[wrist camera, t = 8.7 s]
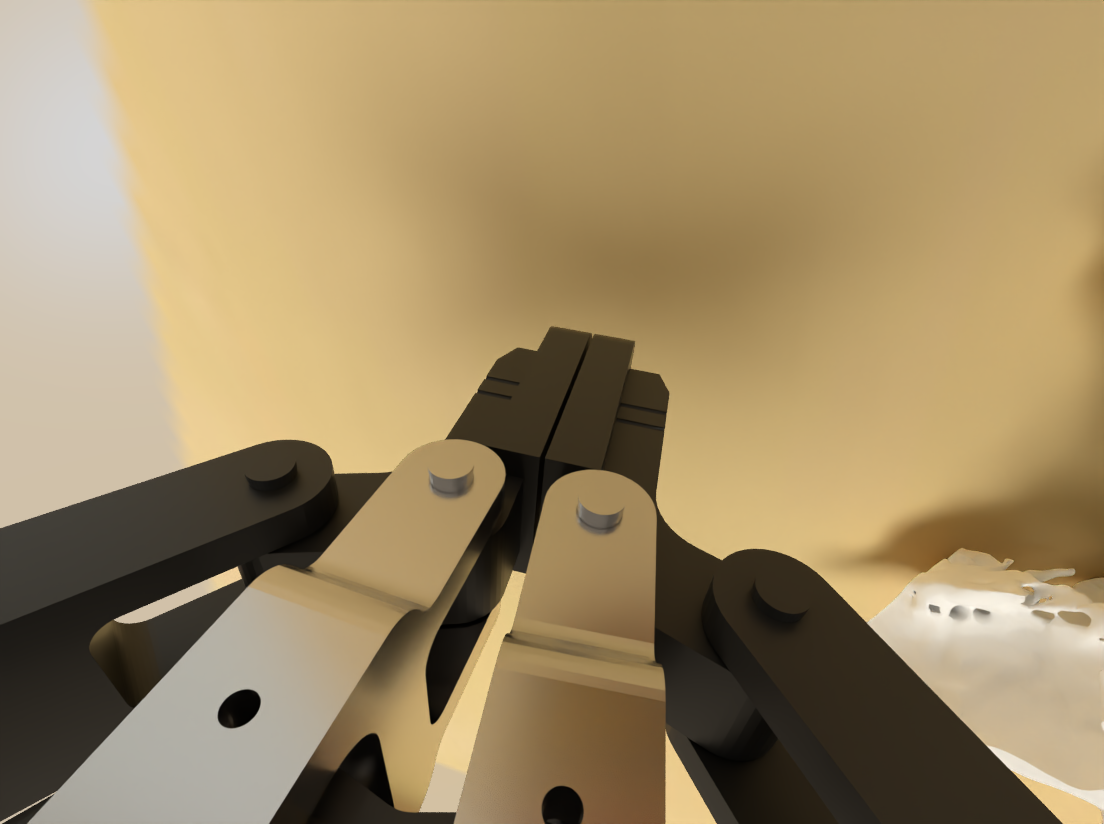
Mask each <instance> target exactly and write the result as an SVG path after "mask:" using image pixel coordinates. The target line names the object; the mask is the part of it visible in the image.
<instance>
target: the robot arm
mask: <svg viewBox="0 0 1104 824" xmlns="http://www.w3.org/2000/svg"><path fill="white" fill-rule="evenodd" d="M634 347H635V341H631V340H625V339H620V338H614V337H609V336H603V335H598V334H594V336H593V338H592V333H586V332H581V331H575V330H570V329H564V328H559V327H554V326H551V327H550V329H549V331H548V332H547V334H546V336H545V338H544V340H543V342H542V343H541V345H540V347H539V349H538V351H533V350H528V349H523V348H516V349H514V350H513V351H511V352H509V353H508V354H506V355H504V356H502V357H501V358H499V359H497V361H496V362H495V364H494V365H493V367H492V368H491V370H490V372H489V373H488V375H487V377H486V379H484V381H483V382H482V384H481V385H480V387H479V388H478V392H477V393H475V395H474V396H473V398H472V399H471V401H470V402H469V404H468V405H467V407H466V408H465V410H464V412H463V413H462V415H461V416H460V418H459V419H458V421H457V422H456V424H455V425H454V427H453V428H452V430H451V432H450V433H449V435H448V436H447V438H446V439H445V440H440V441H435V442H431V443H428V444H425V445H423V446H421V447H419V448H417V449H415V450H413V451H412V452H411V453H409V454H408V455H407V456H406V457H405V458H404V459H403V460H402V461H401V462H400V464H399V465H398V466H397V467H396V468H395V469H394V471H393V472H386V473H352V474H334V470H333V465H332V460H331V458H330V456H329V455H328V454H327V453H326V451H325V450H323V449H322V448H320V447H319V446H317V445H315V444H312V443H309V442H305V441H299V440H277V441H271V442H266V443H262V444H258V445H255V446H252V447H249V448H246V449H243V450H240V451H237V452H233V453H230V454H227V455H224V456H221V457H218V458H215V459H212V460H209V461H206V462H203V463H200V464H197V465H194V466H191V467H187V468H184V469H181V470H178V471H175V472H172V473H169V474H166V475H163V476H160V477H157V478H154V479H151V480H148V481H145V482H141V483H139V484H135V485H132V486H129V487H126V488H123V489H120V490H117V491H114V492H111V493H108V494H105V495H102V496H99V497H95V498H93V499H89V500H86V501H83V502H81V503H77V504H74V505H71V506H68V507H65V508H62V509H59V510H56V511H53V512H49V513H46V514H43V515H40V516H37V517H34V518H31V519H28V520H25V521H22V522H19V523H16V524H13V525H10V526H6V527H4V528H0V821H2V820H4V819H6V818H8V817H10V816H11V815H13V814H15V813H17V812H19V811H21V810H23V809H24V808H26V807H28V806H30V805H32V804H34V803H35V802H37V801H39V800H41V799H43V798H45V797H47V796H49V795H50V794H52V793H54V792H56V791H57V792H56V793H55V794H53V795H52V796H50V797H48V798H47V799H45V800H43V801H41V802H39V803H38V804H36V805H34V806H32V807H31V808H29V809H27V810H25V811H24V812H22V813H20V814H18V815H16V816H15V817H13V818H11V819H9V820H8V821H6V822H4V823H2V824H665V729H666V732H667V735H668V738H669V740H670V742H671V744H672V746H673V748H674V749H675V751H676V753H677V755H678V756H679V758H680V760H681V762H682V763H683V765H684V767H685V769H686V770H687V772H688V774H689V776H690V777H691V779H692V781H693V783H694V784H695V786H696V788H697V790H698V791H699V793H700V795H701V797H702V798H703V800H704V802H705V804H706V805H707V807H708V809H709V811H710V812H711V814H712V816H713V818H714V819H715V821H716V823H717V824H1062V822H1061V821H1060V820H1059V819H1058V818H1057V817H1056V816H1055V815H1054V814H1053V813H1052V812H1051V811H1050V810H1049V809H1048V808H1047V807H1046V806H1045V805H1044V804H1043V803H1042V802H1041V801H1040V800H1039V799H1038V798H1037V797H1036V796H1035V795H1034V794H1033V793H1032V792H1031V791H1030V790H1029V789H1028V788H1027V787H1026V786H1025V785H1024V784H1023V783H1022V782H1021V780H1020V779H1019V778H1018V777H1017V776H1016V775H1015V774H1014V773H1013V772H1012V771H1011V770H1010V769H1009V768H1008V767H1007V766H1006V765H1005V764H1004V763H1003V762H1002V761H1001V760H1000V759H999V758H998V757H997V756H996V755H995V754H994V753H993V752H992V751H991V750H990V749H989V748H988V747H987V746H986V745H985V744H984V743H983V742H982V741H981V740H980V738H979V737H978V736H977V735H976V734H975V733H974V732H973V731H972V730H971V729H970V728H969V727H968V726H967V725H966V724H965V723H964V722H963V721H962V720H961V719H960V718H959V717H958V716H957V715H956V714H955V713H954V712H953V711H952V710H951V709H950V708H949V707H948V706H947V705H946V704H945V703H944V702H943V701H942V700H941V699H940V698H939V696H938V695H937V694H936V693H935V692H934V691H933V690H932V689H931V688H930V687H929V686H928V685H927V684H926V683H925V682H924V681H923V680H922V679H921V678H920V677H919V676H918V675H917V674H916V673H915V672H914V671H913V670H912V669H911V668H910V667H909V666H908V665H907V664H906V663H905V662H904V661H903V660H902V659H901V658H900V657H899V656H898V654H897V653H896V652H895V651H894V650H893V649H892V648H891V647H890V646H889V645H888V644H887V643H886V642H885V641H884V640H883V639H882V638H881V637H880V636H879V635H878V634H877V633H876V632H875V631H874V630H873V629H872V628H871V627H870V626H869V625H868V624H867V623H866V622H865V621H864V620H863V619H862V618H861V617H860V616H859V615H858V614H857V612H856V611H855V610H854V609H853V608H852V607H851V606H850V605H849V604H848V603H847V602H846V601H845V600H844V599H843V598H842V597H841V596H840V595H839V594H838V593H837V592H836V591H835V590H834V589H833V588H832V587H831V586H830V585H829V584H828V583H827V582H826V581H825V580H824V579H823V578H822V577H821V576H820V575H819V574H818V573H817V572H815V571H814V570H812V569H811V568H810V567H808V566H807V565H805V564H803V563H802V562H800V561H798V560H796V559H794V558H792V557H790V556H787V555H785V554H782V553H779V552H775V551H770V550H765V549H747V550H742V551H738V552H735V553H733V554H731V555H729V556H727V557H726V558H725V559H723V560H720V559H718V558H716V557H714V556H712V555H710V554H708V553H706V552H704V551H702V550H700V549H698V548H697V547H695V546H693V545H691V544H690V543H688V542H686V541H685V540H684V539H682V538H681V537H680V536H678V535H677V534H676V533H675V532H674V531H673V530H672V529H671V528H670V527H669V526H668V524H667V523H666V522H665V521H664V519H663V517H662V516H661V514H660V512H659V509H658V507H657V502H656V489H657V482H658V474H659V467H660V459H661V452H662V444H663V437H664V429H665V422H666V413H667V407H668V400H669V391H668V389H667V388H666V386H665V384H664V382H663V380H662V378H661V376H660V375H659V374H655V373H649V372H644V371H639V370H634V369H631V363H632V358H633V353H634ZM237 566H238V569H239V572H240V574H241V577H242V579H241V580H238V581H236V582H234V583H232V584H229V585H227V586H225V587H222V588H220V589H218V590H216V591H213V592H211V593H209V594H207V595H204V596H202V597H200V598H197V599H195V600H193V601H191V602H188V603H186V604H184V605H182V606H179V607H177V608H175V609H173V610H170V611H168V612H166V613H163V614H161V615H159V616H157V617H154V618H152V619H149V620H147V621H143V622H140V623H132V624H124V623H119V622H116V621H114V619H116V618H118V617H120V616H122V615H125V614H127V613H129V612H132V611H134V610H136V609H139V608H141V607H143V606H146V605H148V604H150V603H153V602H155V601H157V600H160V599H162V598H164V597H167V596H169V595H172V594H174V593H176V592H178V591H181V590H183V589H186V588H188V587H190V586H192V585H195V584H197V583H200V582H202V581H204V580H207V579H209V578H211V577H214V576H216V575H218V574H221V573H223V572H225V571H228V570H230V569H232V568H235V567H237ZM512 570H514V571H518V572H522V573H526V576H525V580H524V584H523V588H522V592H521V596H520V600H519V604H518V608H517V612H516V616H515V619H514V623H513V627H512V630H511V632H510V633H507V634H506V635H505V637H504V639H503V642H502V644H501V647H500V651H499V654H498V657H497V661H496V664H495V668H494V672H493V676H492V680H491V683H490V687H489V691H488V695H487V699H486V702H485V706H484V710H483V714H482V718H481V721H480V725H479V729H478V733H477V737H476V741H475V744H474V748H473V752H472V756H471V760H470V763H469V767H468V771H467V775H466V779H465V783H464V787H463V791H462V794H461V798H460V802H459V806H458V809H457V813H456V812H455V813H454V812H450V813H447V812H439V813H438V812H437V813H436V812H419V811H420V808H421V806H422V803H423V801H424V798H425V796H426V793H427V790H428V787H429V784H430V781H431V777H432V774H433V770H434V766H435V761H436V756H437V752H438V749H439V746H440V743H441V740H442V737H443V735H444V732H445V730H446V728H447V726H448V723H449V721H450V719H451V717H452V715H453V713H454V711H455V708H456V706H457V704H458V702H459V700H460V698H461V695H462V693H463V691H464V689H465V687H466V685H467V683H468V680H469V678H470V676H471V674H472V672H473V670H474V668H475V665H476V663H477V661H478V659H479V657H480V655H481V652H482V650H483V648H484V646H485V644H486V642H487V640H488V637H489V635H490V633H491V631H492V629H493V627H494V625H495V622H496V620H497V618H498V615H499V612H500V606H501V598H502V596H503V594H504V592H505V589H506V586H507V584H508V581H509V578H510V576H511V573H512Z"/></svg>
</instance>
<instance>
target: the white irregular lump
mask: <svg viewBox="0 0 1104 824" xmlns="http://www.w3.org/2000/svg"><path fill="white" fill-rule="evenodd" d="M1004 560H1005V561H1004V562H1003V563H1001V562H999V561H997V560H996V559H995V558H994V557H993V556H992V555H990V554H987V553H983V552H980V551H971V550H966V549H964V548H961V549H959V550H957V551H956V552H955V553H954V554H952V555H951V556H950V557H949V558H948V559H943V560H941V561H940V562H939V563H937V564H936V565H934V566H933V567H932V568H931V569H930V570H928V571H927V572H926V573H924V572H921V573H920V574H918V575H917V576H916V577H915V578H914V579H913V580H912V581H911V582H909V583H908V585H907V586H906V587H905V588H904V590H903V591H902V592H901V593H900V594H899V595H898V596H897V597H896V598H895V599H894V600H893V601H892V602H891V603H890V604H889V605H888V606H887V607H886V608H884V609H883V610H882V611H881V612H880V613H878V614H877V615H876V616H875V617H873V618H872V619H871V620H869V621H868V622H867V624H868V625H869V626H870V627H871V628H872V629H873V630H874V631H875V632H876V633H877V634H878V635H879V636H880V637H881V638H882V639H883V640H884V641H885V642H886V643H887V644H888V645H889V646H890V647H891V648H892V649H893V650H894V651H895V652H896V653H897V654H898V656H899V657H900V658H901V659H902V660H903V661H904V662H905V663H906V664H907V665H908V666H909V667H910V668H911V669H912V670H913V671H914V672H915V673H916V674H917V675H918V676H919V677H920V678H921V679H922V680H923V681H924V682H925V683H926V684H927V685H928V686H929V687H930V688H931V689H932V690H933V691H934V692H935V693H936V694H937V695H938V696H939V698H940V699H941V700H942V701H943V702H944V703H945V704H946V705H947V706H948V707H949V708H950V709H951V710H952V711H953V712H954V713H955V714H956V715H957V716H958V717H959V718H960V719H961V720H962V721H963V722H964V723H965V724H966V725H967V726H968V727H969V728H970V729H971V730H972V731H973V732H974V733H975V734H976V735H977V736H978V737H979V738H980V740H981V741H982V742H983V743H984V744H985V745H986V746H987V747H988V748H989V749H990V750H991V751H992V752H993V753H994V754H995V755H996V756H997V757H998V758H999V759H1000V760H1001V761H1002V762H1003V763H1004V764H1005V765H1006V766H1007V767H1008V768H1009V769H1010V770H1012V771H1014V772H1016V773H1018V774H1020V775H1022V776H1024V777H1027V778H1029V779H1032V780H1034V781H1037V782H1040V783H1043V784H1046V785H1049V786H1052V787H1054V788H1057V789H1060V790H1062V791H1065V792H1067V793H1070V794H1072V795H1074V796H1076V797H1079V798H1081V799H1083V800H1085V801H1087V802H1089V803H1091V804H1093V805H1095V806H1097V807H1098V808H1099V809H1100V811H1101V814H1102V822H1101V824H1104V578H1093V579H1090V580H1085V581H1081V582H1079V583H1077V584H1075V585H1074V586H1073V587H1072V588H1071V587H1069V586H1067V585H1050V584H1047V583H1043V582H1045V581H1047V580H1050V579H1052V578H1055V577H1062V576H1072V575H1074V573H1075V569H1072V568H1070V569H1062V568H1060V569H1050V570H1042V571H1037V570H1027V571H1024V572H1021V571H1018V570H1006V571H1005V569H1006V568H1008V567H1009V566H1010V565H1011V564H1012V563H1013V562H1014V560H1011V559H1004ZM1025 586H1029V587H1032V588H1033V590H1034V593H1033V592H1030V591H1027V590H1025V589H1023V588H1022V587H1025ZM1050 596H1052V600H1049V597H1050ZM1042 598H1045V599H1047V600H1046V602H1043V603H1039V601H1040V599H1042Z"/></svg>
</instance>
